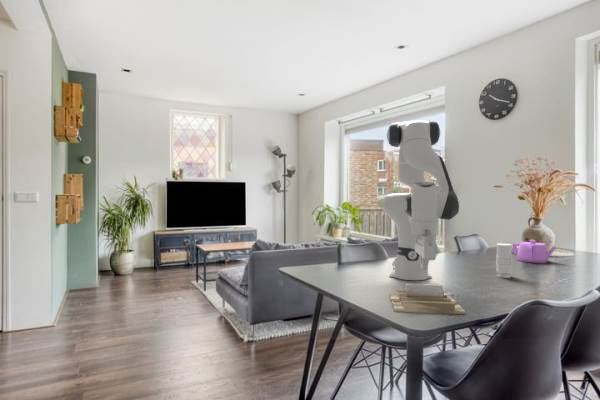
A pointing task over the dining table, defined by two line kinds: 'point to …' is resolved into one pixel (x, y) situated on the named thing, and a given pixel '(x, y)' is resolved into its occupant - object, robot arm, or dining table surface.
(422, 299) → the rack
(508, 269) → the candle
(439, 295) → the blanking panel
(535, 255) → the teakettle
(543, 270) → the dining table surface
